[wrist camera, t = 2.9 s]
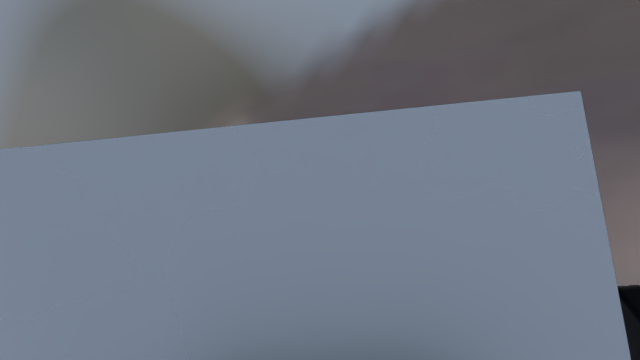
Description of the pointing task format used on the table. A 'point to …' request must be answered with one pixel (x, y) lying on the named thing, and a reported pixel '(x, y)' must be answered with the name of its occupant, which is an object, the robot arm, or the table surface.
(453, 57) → the table surface
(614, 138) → the table surface
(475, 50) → the table surface
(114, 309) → the blue-grey rectangular box
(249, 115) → the table surface
